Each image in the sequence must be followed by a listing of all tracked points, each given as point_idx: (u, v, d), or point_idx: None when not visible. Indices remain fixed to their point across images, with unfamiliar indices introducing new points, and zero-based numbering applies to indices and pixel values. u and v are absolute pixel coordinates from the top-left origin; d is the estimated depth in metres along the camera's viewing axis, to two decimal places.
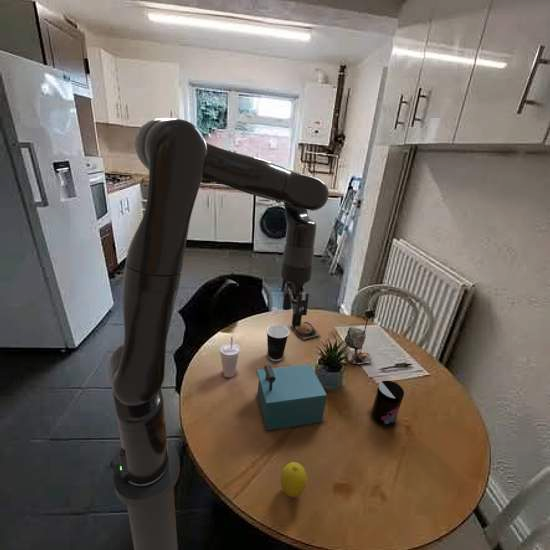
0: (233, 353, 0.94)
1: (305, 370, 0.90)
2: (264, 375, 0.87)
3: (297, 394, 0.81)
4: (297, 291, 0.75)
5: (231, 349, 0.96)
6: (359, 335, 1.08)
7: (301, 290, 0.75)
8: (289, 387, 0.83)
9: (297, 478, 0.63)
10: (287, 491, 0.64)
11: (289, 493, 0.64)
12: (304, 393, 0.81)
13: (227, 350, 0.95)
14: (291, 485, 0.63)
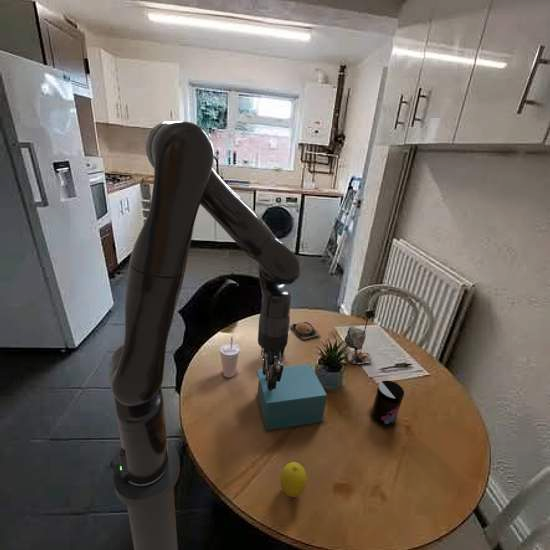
0: (233, 353, 0.94)
1: (305, 370, 0.90)
2: (264, 375, 0.87)
3: (297, 394, 0.81)
4: (273, 360, 0.75)
5: (231, 349, 0.96)
6: (359, 335, 1.08)
7: (277, 360, 0.75)
8: (289, 387, 0.83)
9: (297, 478, 0.63)
10: (287, 491, 0.64)
11: (289, 493, 0.64)
12: (304, 393, 0.81)
13: (227, 350, 0.95)
14: (291, 485, 0.63)
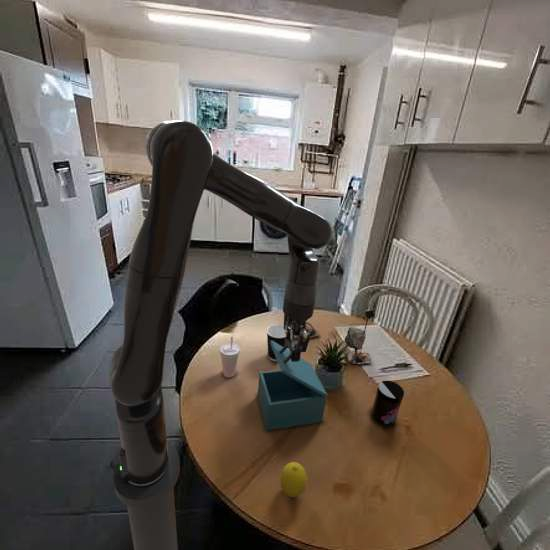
0: (233, 353, 0.94)
1: (308, 366, 0.89)
2: (278, 348, 0.84)
3: (306, 379, 0.80)
4: (299, 329, 0.73)
5: (231, 349, 0.96)
6: (359, 335, 1.08)
7: (303, 329, 0.73)
8: (299, 370, 0.81)
9: (297, 478, 0.63)
10: (287, 491, 0.64)
11: (289, 493, 0.64)
12: (311, 382, 0.80)
13: (227, 350, 0.95)
14: (291, 485, 0.63)
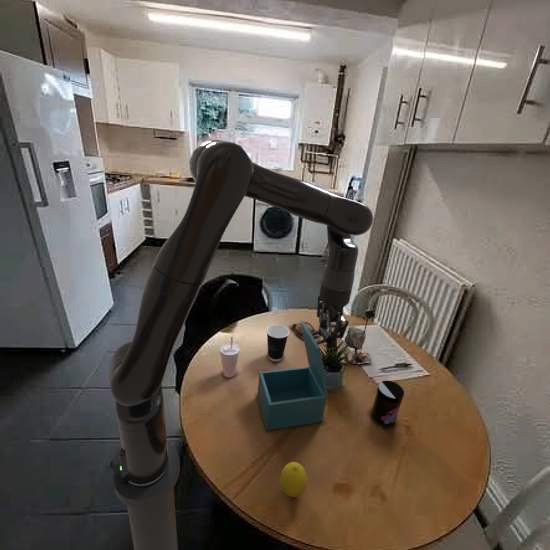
0: (233, 353, 0.94)
1: None
2: None
3: None
4: (336, 315, 0.75)
5: (231, 349, 0.96)
6: (359, 335, 1.08)
7: (341, 315, 0.74)
8: None
9: (297, 478, 0.63)
10: (287, 491, 0.64)
11: (289, 493, 0.64)
12: None
13: (227, 350, 0.95)
14: (291, 485, 0.63)
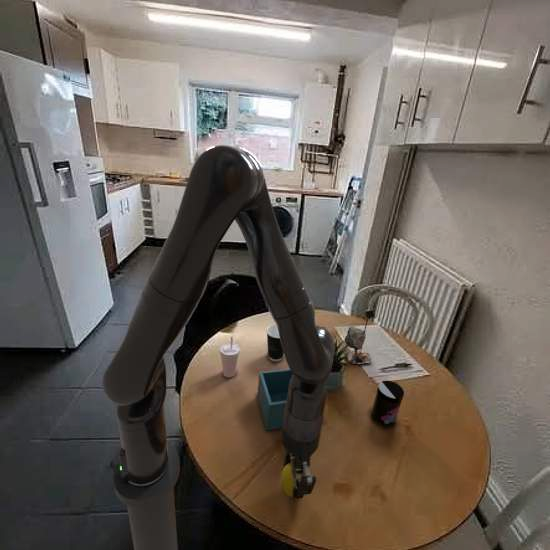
0: (233, 353, 0.94)
1: None
2: None
3: None
4: (301, 468, 0.58)
5: (231, 349, 0.96)
6: (359, 335, 1.08)
7: (307, 468, 0.58)
8: None
9: None
10: (287, 491, 0.64)
11: (289, 493, 0.64)
12: None
13: (227, 350, 0.95)
14: (291, 485, 0.63)
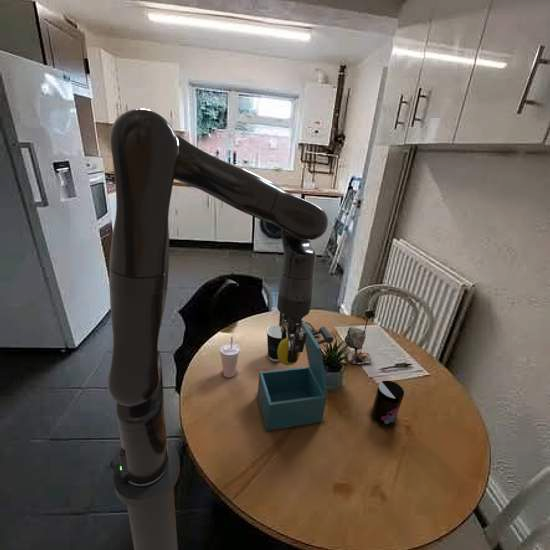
0: (233, 353, 0.94)
1: None
2: None
3: None
4: (294, 327, 0.68)
5: (231, 349, 0.96)
6: (359, 335, 1.08)
7: (299, 327, 0.68)
8: None
9: None
10: (283, 358, 0.73)
11: (284, 360, 0.73)
12: None
13: (227, 350, 0.95)
14: (286, 351, 0.73)
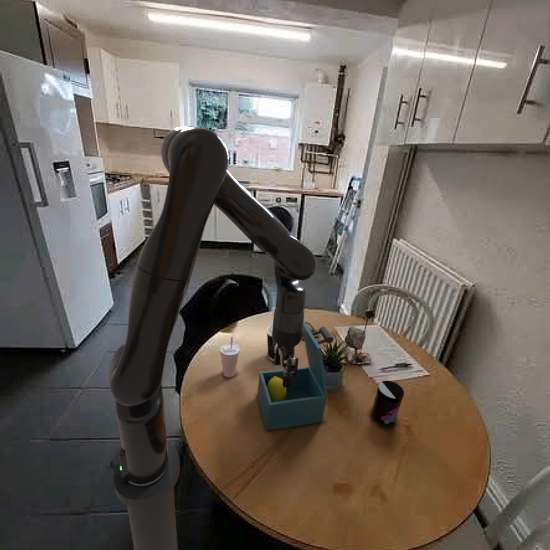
0: (233, 353, 0.94)
1: None
2: None
3: None
4: (287, 354, 0.76)
5: (231, 349, 0.96)
6: (359, 335, 1.08)
7: (291, 354, 0.75)
8: None
9: (276, 381, 0.87)
10: (271, 394, 0.86)
11: (273, 395, 0.85)
12: None
13: (227, 350, 0.95)
14: (273, 386, 0.86)
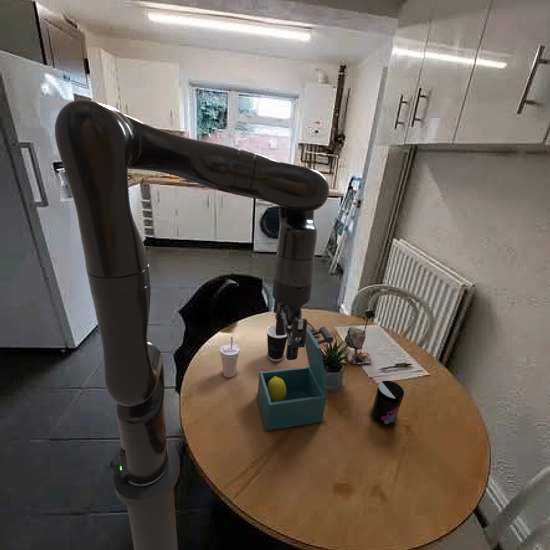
0: (233, 353, 0.94)
1: None
2: None
3: None
4: (292, 316, 0.58)
5: (231, 349, 0.96)
6: (359, 335, 1.08)
7: (298, 315, 0.58)
8: None
9: (276, 381, 0.87)
10: (271, 394, 0.86)
11: (273, 395, 0.85)
12: None
13: (227, 350, 0.95)
14: (273, 386, 0.86)
